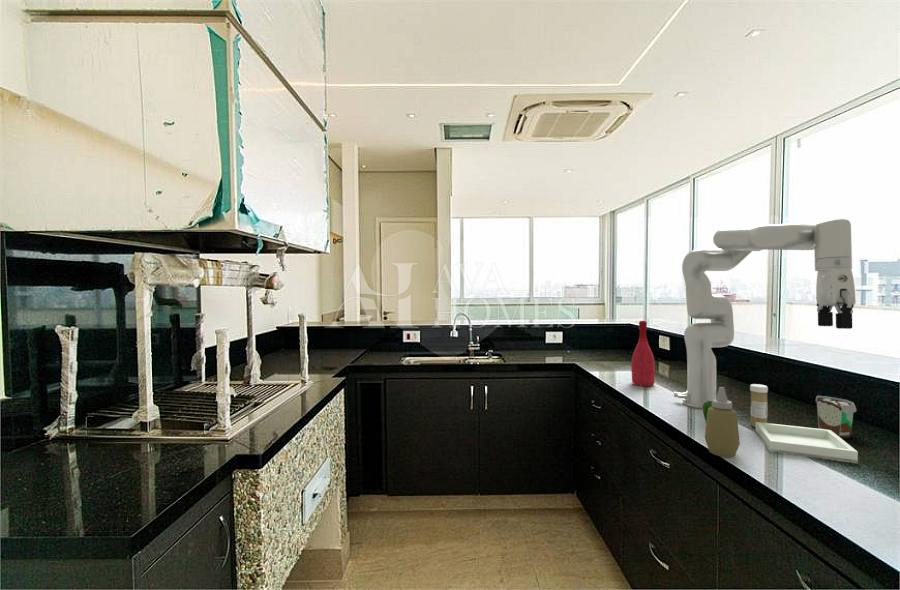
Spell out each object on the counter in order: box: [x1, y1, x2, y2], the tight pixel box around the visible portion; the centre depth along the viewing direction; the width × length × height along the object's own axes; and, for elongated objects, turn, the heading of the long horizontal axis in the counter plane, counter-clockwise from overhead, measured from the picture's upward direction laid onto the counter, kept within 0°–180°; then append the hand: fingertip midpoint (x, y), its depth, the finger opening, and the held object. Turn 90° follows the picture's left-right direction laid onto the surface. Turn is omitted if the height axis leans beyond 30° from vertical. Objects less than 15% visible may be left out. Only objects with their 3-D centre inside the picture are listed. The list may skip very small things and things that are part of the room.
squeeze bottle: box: [704, 386, 741, 458], centre depth 112 cm, size 8×8×18 cm
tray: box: [754, 422, 859, 464], centre depth 117 cm, size 18×18×3 cm
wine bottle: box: [631, 320, 656, 387], centre depth 194 cm, size 10×10×30 cm
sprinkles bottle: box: [749, 383, 769, 428], centre depth 133 cm, size 5×5×14 cm
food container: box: [815, 395, 858, 439], centre depth 127 cm, size 12×6×10 cm, turn 168°
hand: (834, 327), depth 113 cm, fingers open, 9 cm apart
